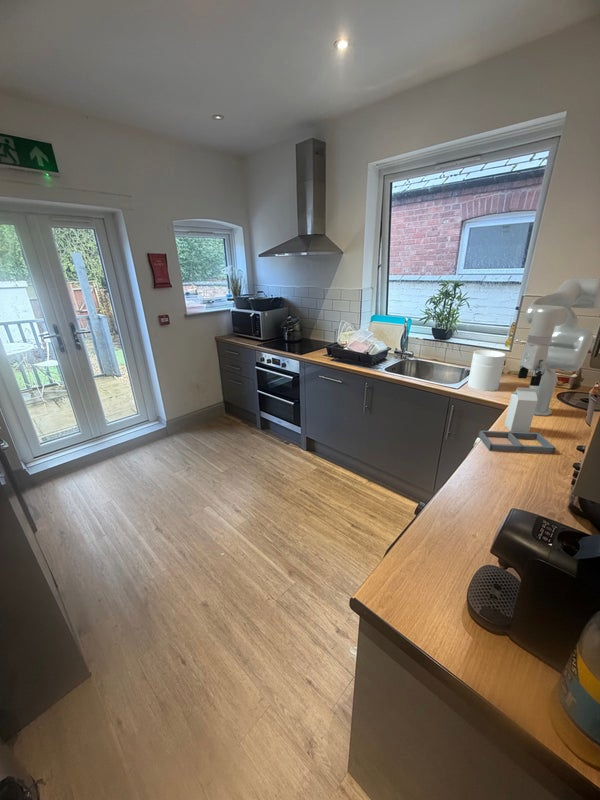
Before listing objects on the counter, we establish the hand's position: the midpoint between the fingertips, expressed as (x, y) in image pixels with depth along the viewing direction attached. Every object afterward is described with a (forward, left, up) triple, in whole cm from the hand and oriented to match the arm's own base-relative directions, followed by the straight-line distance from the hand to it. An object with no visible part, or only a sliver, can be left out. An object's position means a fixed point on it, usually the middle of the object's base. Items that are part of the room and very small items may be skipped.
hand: (527, 381), depth 133 cm
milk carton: (0, 0, -22) cm, 22 cm away
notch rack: (+14, -7, -22) cm, 27 cm away
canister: (-55, +6, -22) cm, 60 cm away
